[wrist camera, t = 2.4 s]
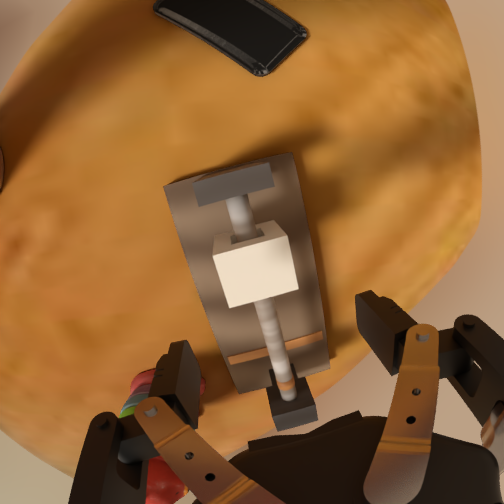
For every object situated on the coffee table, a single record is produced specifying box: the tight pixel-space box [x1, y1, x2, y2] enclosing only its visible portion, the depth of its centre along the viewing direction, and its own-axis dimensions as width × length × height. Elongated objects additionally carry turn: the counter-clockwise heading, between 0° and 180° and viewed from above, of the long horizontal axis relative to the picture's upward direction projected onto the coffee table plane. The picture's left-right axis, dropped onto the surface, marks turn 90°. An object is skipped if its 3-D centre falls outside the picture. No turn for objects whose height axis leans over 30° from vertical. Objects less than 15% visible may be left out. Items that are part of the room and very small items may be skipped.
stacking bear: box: [119, 370, 205, 504], centre depth 25 cm, size 11×10×18 cm
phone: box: [153, 0, 307, 77], centre depth 20 cm, size 8×1×15 cm
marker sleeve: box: [212, 220, 299, 308], centre depth 21 cm, size 4×5×5 cm
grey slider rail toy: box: [163, 152, 330, 431], centre depth 25 cm, size 26×12×9 cm, turn 14°
